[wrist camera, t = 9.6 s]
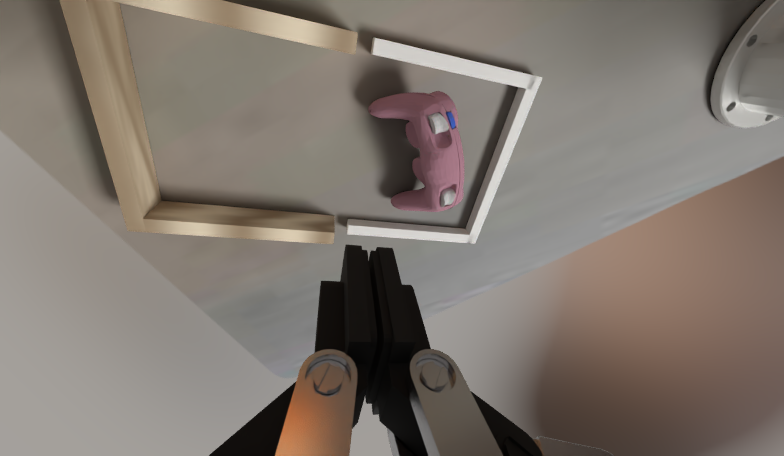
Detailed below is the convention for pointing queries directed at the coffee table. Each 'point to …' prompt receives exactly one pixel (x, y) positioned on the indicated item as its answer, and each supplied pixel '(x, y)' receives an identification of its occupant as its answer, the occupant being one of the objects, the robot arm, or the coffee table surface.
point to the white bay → (499, 159)
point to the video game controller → (428, 148)
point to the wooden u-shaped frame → (128, 130)
